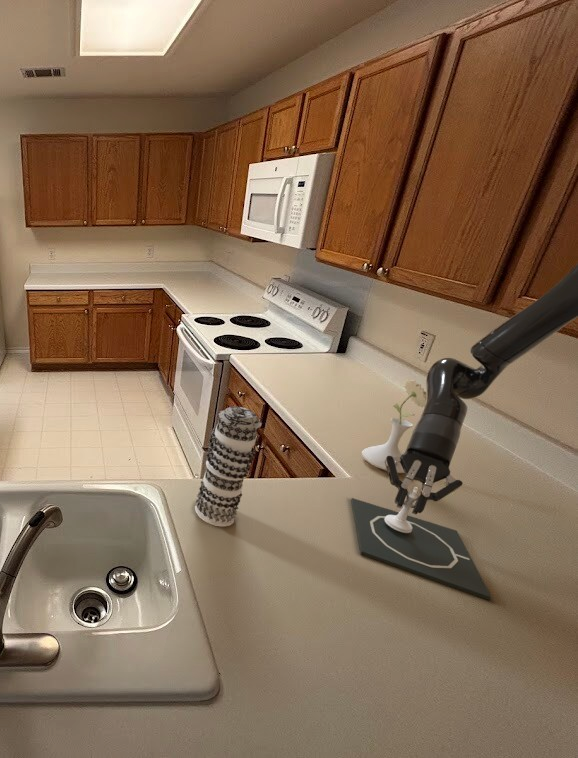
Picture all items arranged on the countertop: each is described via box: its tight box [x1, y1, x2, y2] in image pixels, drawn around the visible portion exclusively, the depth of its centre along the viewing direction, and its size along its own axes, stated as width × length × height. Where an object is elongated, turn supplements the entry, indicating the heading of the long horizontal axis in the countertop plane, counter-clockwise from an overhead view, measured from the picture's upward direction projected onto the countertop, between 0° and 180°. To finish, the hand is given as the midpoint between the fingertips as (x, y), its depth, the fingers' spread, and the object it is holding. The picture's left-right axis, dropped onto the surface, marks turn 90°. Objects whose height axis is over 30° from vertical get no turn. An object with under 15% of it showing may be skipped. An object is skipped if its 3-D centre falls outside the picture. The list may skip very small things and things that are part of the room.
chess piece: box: [384, 486, 419, 533], centre depth 87 cm, size 5×5×10 cm
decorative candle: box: [194, 406, 263, 528], centre depth 86 cm, size 9×9×25 cm
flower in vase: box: [361, 379, 426, 474], centre depth 112 cm, size 13×11×25 cm
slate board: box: [350, 497, 492, 601], centre depth 86 cm, size 20×20×1 cm
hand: (407, 509), depth 86 cm, fingers closed on chess piece
